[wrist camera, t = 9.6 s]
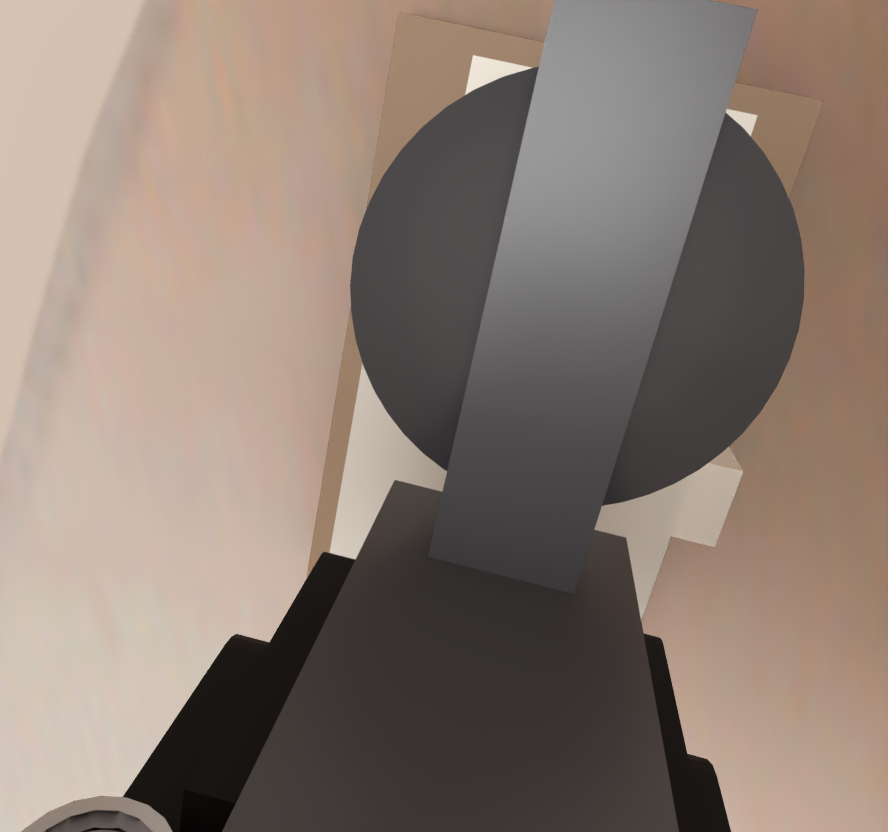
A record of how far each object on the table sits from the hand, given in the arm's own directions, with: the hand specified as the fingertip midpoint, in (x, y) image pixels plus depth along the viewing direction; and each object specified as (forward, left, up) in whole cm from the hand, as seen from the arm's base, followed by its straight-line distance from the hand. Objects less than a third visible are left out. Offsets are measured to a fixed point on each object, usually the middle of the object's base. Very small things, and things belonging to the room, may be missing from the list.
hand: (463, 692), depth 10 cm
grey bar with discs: (0, 0, -1) cm, 1 cm away
